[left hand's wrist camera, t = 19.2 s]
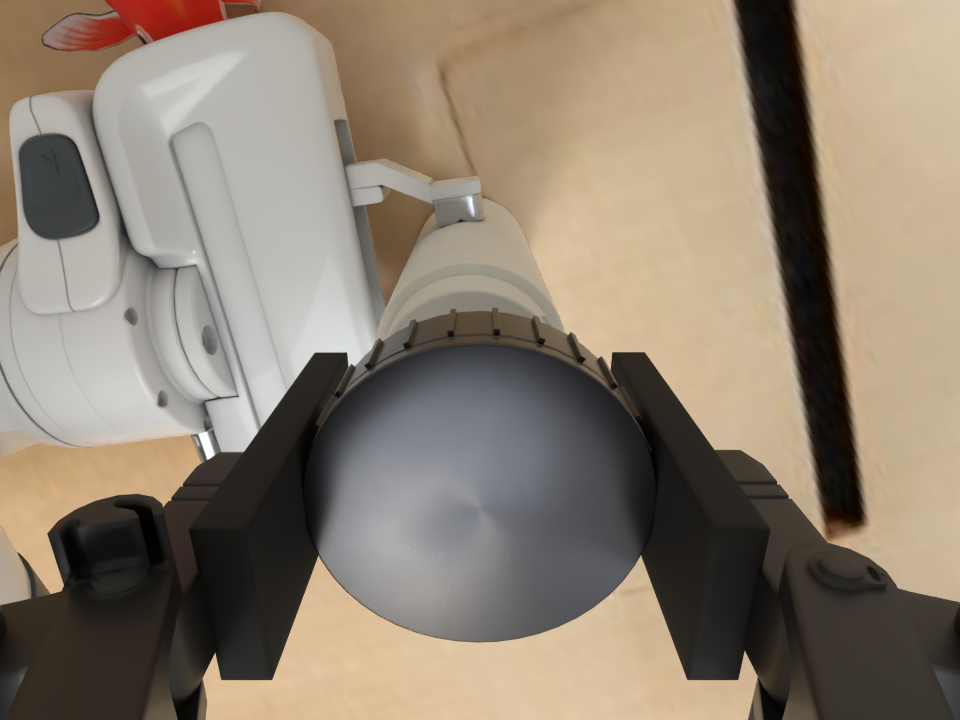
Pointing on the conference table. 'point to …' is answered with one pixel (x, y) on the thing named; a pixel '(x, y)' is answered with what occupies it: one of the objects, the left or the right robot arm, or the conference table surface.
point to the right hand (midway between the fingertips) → (494, 283)
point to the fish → (136, 22)
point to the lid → (479, 478)
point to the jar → (469, 273)
